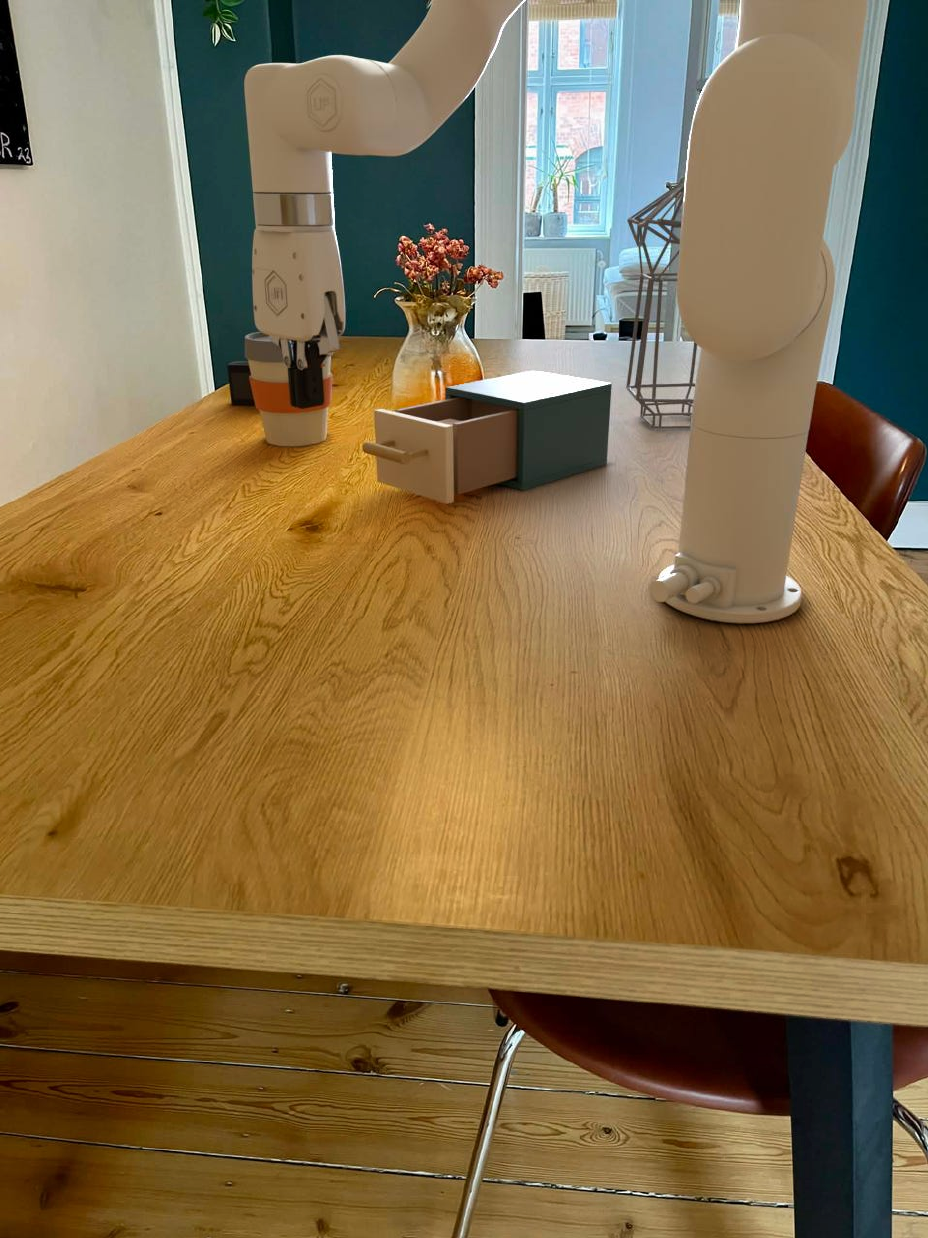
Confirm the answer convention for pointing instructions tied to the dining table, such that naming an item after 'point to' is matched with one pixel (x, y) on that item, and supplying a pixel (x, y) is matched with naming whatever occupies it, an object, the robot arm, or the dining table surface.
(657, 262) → the geometric lantern
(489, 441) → the drawer
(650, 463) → the dining table surface
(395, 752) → the dining table surface
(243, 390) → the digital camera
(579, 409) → the cabinet
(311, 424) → the reusable coffee cup
